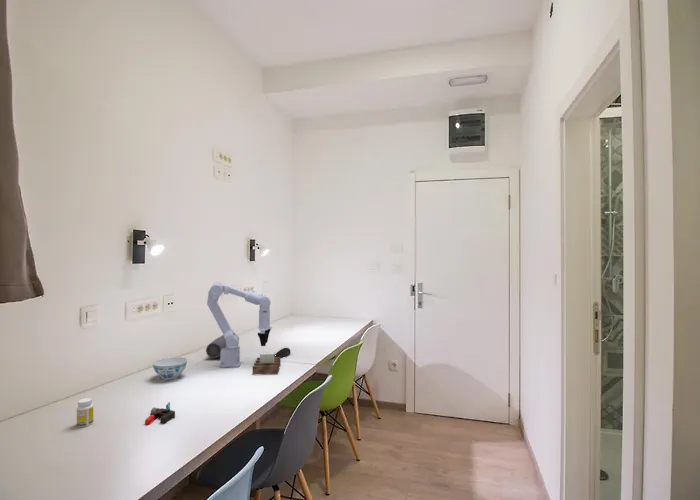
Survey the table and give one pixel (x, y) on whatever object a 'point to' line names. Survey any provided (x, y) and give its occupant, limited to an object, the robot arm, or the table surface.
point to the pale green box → (266, 357)
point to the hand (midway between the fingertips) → (264, 344)
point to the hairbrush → (283, 353)
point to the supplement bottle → (84, 412)
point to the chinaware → (169, 367)
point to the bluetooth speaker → (216, 347)
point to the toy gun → (161, 414)
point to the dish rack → (266, 367)
